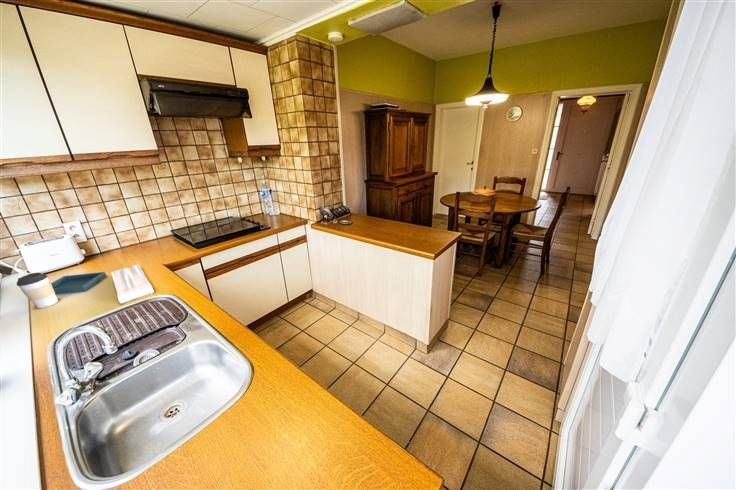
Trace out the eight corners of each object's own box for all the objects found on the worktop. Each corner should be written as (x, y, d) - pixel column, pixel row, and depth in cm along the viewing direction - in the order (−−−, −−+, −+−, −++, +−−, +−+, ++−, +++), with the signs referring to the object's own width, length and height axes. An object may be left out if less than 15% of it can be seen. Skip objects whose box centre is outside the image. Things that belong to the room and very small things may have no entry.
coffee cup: (60, 295, 128) (44, 268, 122) (62, 302, 123) (45, 274, 117) (32, 305, 122) (13, 276, 116) (32, 312, 117) (13, 283, 111)
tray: (40, 296, 128) (36, 291, 127) (66, 281, 142) (63, 276, 140) (85, 291, 131) (82, 286, 130) (107, 276, 144) (104, 271, 143)
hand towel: (138, 262, 150) (152, 287, 125) (141, 268, 152) (155, 293, 126) (109, 270, 142) (118, 299, 117) (112, 276, 144) (121, 306, 118)
